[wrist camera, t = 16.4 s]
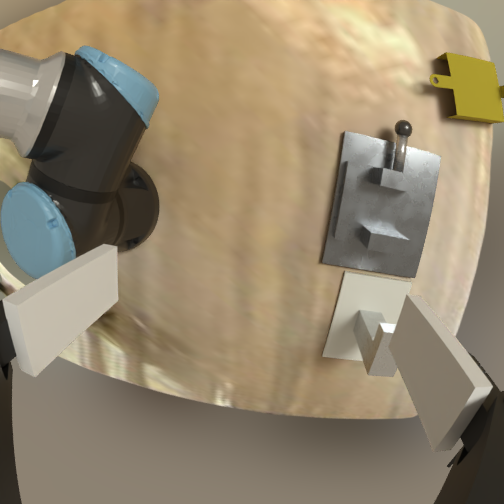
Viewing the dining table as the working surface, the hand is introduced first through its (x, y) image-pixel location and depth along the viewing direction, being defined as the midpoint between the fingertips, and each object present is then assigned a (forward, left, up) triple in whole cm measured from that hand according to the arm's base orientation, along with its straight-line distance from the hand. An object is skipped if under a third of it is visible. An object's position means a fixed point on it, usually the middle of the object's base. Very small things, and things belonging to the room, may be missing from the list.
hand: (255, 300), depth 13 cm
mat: (+18, -17, -35) cm, 43 cm away
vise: (+16, +4, -35) cm, 38 cm away
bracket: (+27, +25, -36) cm, 51 cm away
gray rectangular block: (+18, -15, -34) cm, 42 cm away
